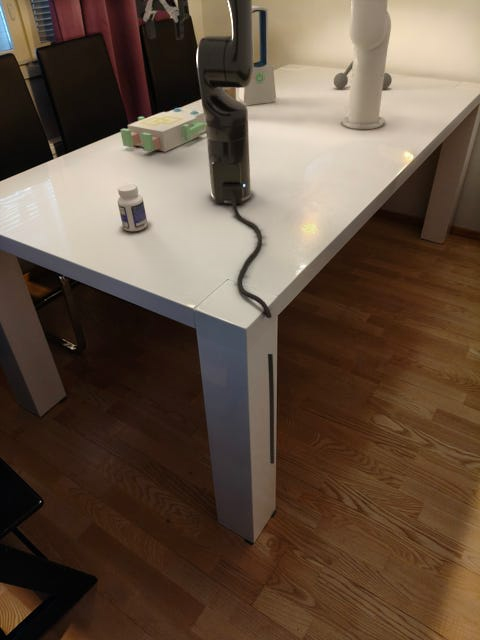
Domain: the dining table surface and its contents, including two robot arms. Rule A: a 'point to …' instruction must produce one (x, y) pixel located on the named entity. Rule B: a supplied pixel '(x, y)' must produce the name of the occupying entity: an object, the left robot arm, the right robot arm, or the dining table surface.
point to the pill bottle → (131, 208)
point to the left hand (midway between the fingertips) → (165, 39)
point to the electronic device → (260, 68)
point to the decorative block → (164, 130)
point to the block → (230, 92)
